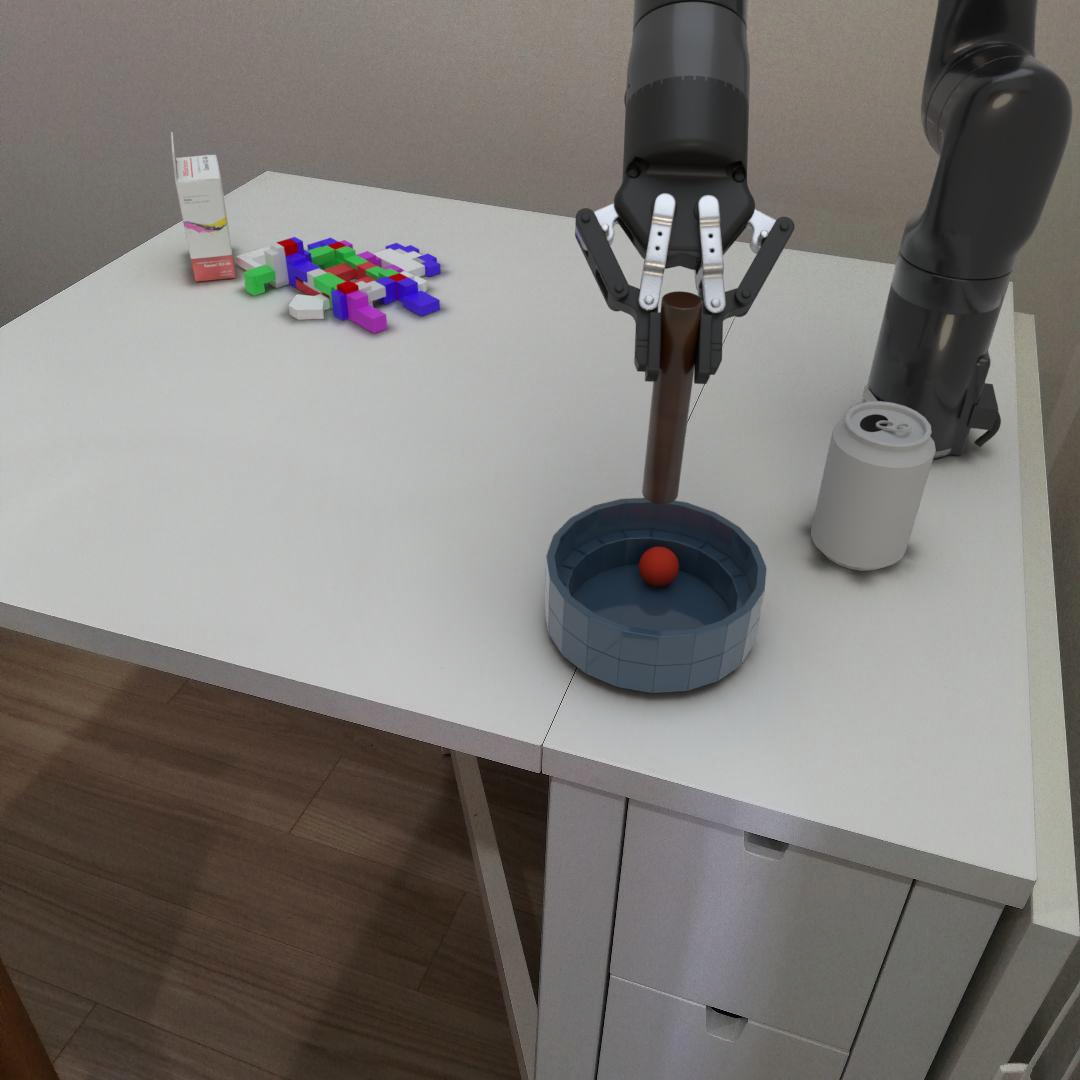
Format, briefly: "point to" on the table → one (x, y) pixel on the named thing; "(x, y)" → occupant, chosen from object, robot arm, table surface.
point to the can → (872, 485)
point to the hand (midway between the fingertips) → (677, 378)
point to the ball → (658, 566)
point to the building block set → (343, 279)
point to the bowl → (653, 595)
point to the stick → (671, 396)
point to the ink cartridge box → (204, 216)
